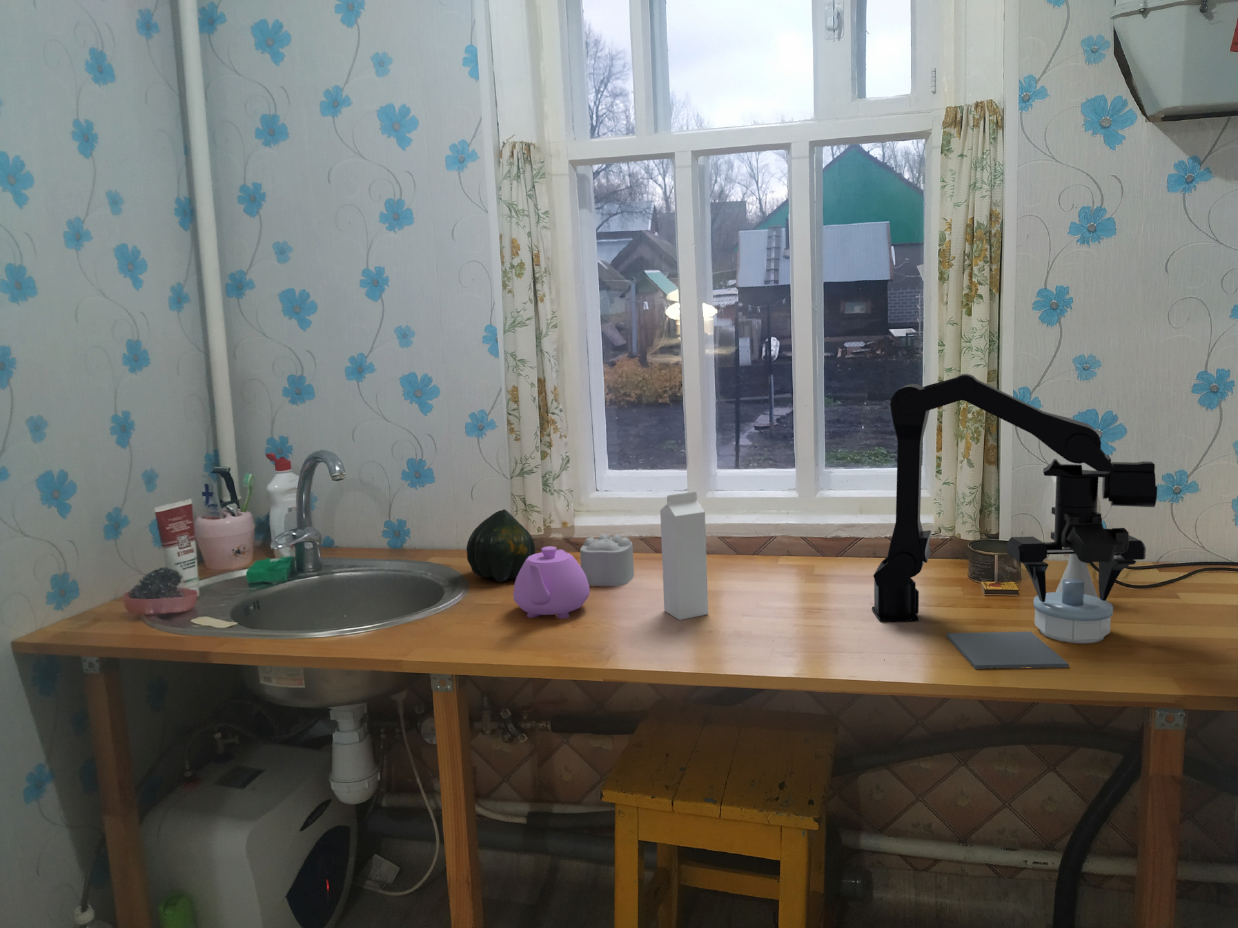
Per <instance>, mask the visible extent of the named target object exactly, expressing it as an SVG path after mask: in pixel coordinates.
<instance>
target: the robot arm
mask: <svg viewBox="0 0 1238 928" xmlns="http://www.w3.org/2000/svg"><path fill="white" fill-rule="evenodd" d="M960 401H962V402H963V401H964V402H966V403H969V404H970V405H972V406H975V407H976V408H979V409H980V410H982V411H984V412H987V413H988V414H991V415H993V416H995V417H997V418H998V419H1001V420H1003V421H1005V422H1007V423H1009V424H1011V425H1012V426H1015V427H1017V428H1019V429H1021V430H1023V431H1026V432H1028V433H1029V434H1031V435H1033V436H1034V437H1036V438H1037V439H1038V440H1039V441H1041V442H1042V444H1044V445H1045V446H1047V447H1048V448H1049V449H1051V450H1052V451H1053V452H1055V453H1056V454H1057V455H1059V456H1061V457H1062V458H1063V459H1065V460H1066V461H1068V462H1070V463H1073V464H1068V463H1063V464H1062V463H1061V462H1059V460H1058V459H1057V458H1054V459H1052V461H1051V462H1050V463H1049V464H1048V465H1047V466H1045V467H1043V469H1042V472H1043V475H1044V476H1046V477H1056V478H1055V506H1053V507H1052V506H1051V515H1053V516H1054V531H1052V532H1050V539H1051V540H1052V542H1051V541H1050V542H1049V541H1047V542H1043V541H1042V540H1040V539H1039V538H1037V537H1035V536H1011V537H1010V538H1009V540H1008V541H1007V543H1006V554H1007V555H1008V556H1010V557H1012V558H1013V559H1015V560H1016V561H1018V563H1021V564H1022V565H1023V566H1024V568H1025V569H1026V571H1027V572H1028V575H1029V577H1030V579H1031V583H1032V584H1033V587H1034V590H1035V592H1036V594H1037V595H1038V597H1039V600H1040V601H1041V602H1045V598H1046V593H1047V585H1046V583H1047V582H1046V577H1047V576H1046V571H1047V569H1048V567H1049V563H1047V562H1045V561H1044V560H1045V559H1047V558H1048V556H1049V555H1070V554H1076V555H1077V558H1078V559H1079V560H1080V561H1081V562H1084V563H1087V564H1093V563H1098V593H1099V594H1098V595H1099V598H1100V599H1101V600H1102V601H1107V599H1108V596H1109V595H1110V594H1111V590H1112V589H1113V587H1114V585H1115V582H1116V581H1117V579H1118V577H1119V575H1120V574H1121V573H1122V571H1123V570H1124V569H1125V568H1127V567H1128V566H1133V565H1135V564H1136V563H1137V561H1138V560H1140V561H1142V560H1143V561H1144V560H1145V559H1146V555H1147V554H1146V553H1147V547H1146V545H1145V543H1144V542H1143V541H1142V540H1141V539H1138V538H1136V537H1134V536H1131V535H1129V534H1130V533H1129V531H1128V530H1127V529H1126V527H1125V528H1124V527H1114V528H1113V527H1111V528H1104V525H1103V517H1102V513H1100V512H1098V498H1099V478H1102V482H1101V484H1102V485H1101V487H1102V488H1101V491H1102V492H1101V494H1102V499H1103V500H1108V502H1109V503H1110V506H1115V507H1137V508H1139V507H1140V508H1155V507H1156V504H1157V497H1158V496H1157V495H1158V486H1157V485H1156V484H1157V483H1156V480H1157V479H1156V472H1155V471H1156V465H1155V463H1154V462H1153V461H1148V460H1147V461H1145V460H1143V461H1138V462H1137V461H1135V462H1128V461H1127V462H1124V461H1123V462H1121V461H1119V462H1117V461H1112V459H1111V457H1110V455H1109V454H1106V453H1105V452H1104V451H1103V449H1102V440H1101V438H1100V435H1099V433H1098V432H1097V431H1096V429H1095V428H1094V427H1093V426H1091V425H1090V424H1088V423H1086V422H1083V421H1079V420H1077V419H1073V418H1070V417H1068V416H1067V417H1066V416H1062V415H1058V414H1053V413H1049V412H1047V411H1043V410H1042V409H1039V408H1037V407H1035V406H1033V405H1032V404H1029V403H1027V402H1025V401H1023V400H1020V399H1019V398H1016V397H1014V396H1012V395H1011V394H1008V393H1006V392H1004V391H1002V390H1000V389H998V388H995V387H994V386H991V385H990V384H987V383H986V382H983V381H981V380H979V379H977V377H975V376H974V375H972V374H968V373H962V374H960V375H957V377H953V378H949V379H946V380H941V381H938V382H935V383H931V384H929V385H925V386H922V385H920V384H916V383H910V384H907V385H905V386H903V387H900V388H899V389H898V390H896V392H894V393H893V394H892V396H891V399H890V401H889V404H890V405H889V408H890V412H891V419H892V425H893V429H894V433H895V436H896V437H895V438H896V440H897V455H896V456H897V457H896V494H895V495H896V497H895V498H896V499H895V500H896V503H895V523H894V527H893V530H892V531H893V532H892V536H891V539H890V543H889V548H888V551H887V552H888V553H887V556H886V557H885V558H884V559H882V560H881V561H880V563H879V565H878V567H877V568H876V570H875V572H874V573H873V575H872V576H873V579H874V580H873V581H874V583H873V585H874V586H873V587H874V588H873V591H874V592H873V593H874V594H873V597H874V598H873V602H874V604H873V606H871V610H872V612H873V613H874V615H875V616H876V619H878V621H880V622H901V621H902V622H907V621H909V622H911V621H919V616H918V615H917V614H919V610H920V609H919V608H920V607H919V606H920V605H919V604H920V595H919V594H920V591H919V590H918V589H917V588H916V584H917V583H916V581H915V580H914V579H913V577H916V576H917V575H918V574H920V573H921V571H922V569H923V567H924V564H925V563H928V561H929V558H930V555H931V554H932V550H931V548H930V540H931V535H932V534H931V533H932V530H929V529H928V530H923V526H922V522H921V500H922V497H921V496H922V467H923V466H922V464H923V461H922V460H923V439H924V435H925V431H926V428H927V427H926V426H927V423H928V420H929V415H930V411H932V410H935V409H938V408H941V407H945V406H947V405H950V404H954V403H957V402H960ZM1082 464H1085V465H1088V466H1089V467H1091V468H1092V469H1093V470H1089V469H1083V465H1082ZM1037 595H1036V596H1037Z"/></svg>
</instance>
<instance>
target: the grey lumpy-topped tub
mask: <svg viewBox="0 0 1238 928" xmlns="http://www.w3.org/2000/svg"><path fill="white" fill-rule="evenodd" d="M633 545H634V544H633V542H632V541H631V540H630V539H629V538H628V537H622V535H621V534H619V533H615V534H613V536H610V535H609V534H607V533H602V534H601V535H599V537H598V538H594V537H589V536H588V537H587V538H585V540H584V542H583V545H582V546H581V547H580V549H579V554H580V555H579V556H580V567H581V568H582V570H583V571H584V573H585V575H586V577H587V580H588V584H589V587H595V586H596V587H597V586H600V587H601V586H602V587H603V586H604V587H620V586H625V585H627V584H629V583H630V582H631V581H632V580H633V578H634V576H635V573H634V572H635V570H634V548H633Z"/></svg>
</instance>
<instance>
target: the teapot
mask: <svg viewBox="0 0 1238 928" xmlns="http://www.w3.org/2000/svg"><path fill="white" fill-rule="evenodd" d="M540 549H541V552H538V553H535V554H533V555H531V556H529V557H528V558H527V559H526V561H525V562H524V564H523V566H522V568H521V570H520V571H519V573H518V576H517V578H515V582H514V586H513V594H512V595H513V597H512V598H513V601H514V602H515V604H517V606H518V607H519V608H520V609H522V611H523V612H525V613H527V614H526V618H530V619H532V618H537V617H539V616H540V615H541V616H548V615H549V616H550V615H551V616H553V615H555V616H556V618H557V619H561V620H562V619H568V618H570V616H571V615H570V614H569V613H570V612H573V611H576V610H578V609H580V608H581V607H582V606H583V605H584V604H585V602H586V601H587V599H588V598H589V597H590V594H591V593H590V592H591V591H590V586H589V584H588V580H587V577H586V575H585V573H584V571H583V570H582V568H581V564H580V563H579V562H578V561H577V560H576V559H575V557H574V556H573V555H572V554H571V553H569V552H566V551H565V550H564V549H558V548H557V547H556V546H550V545H549V546H544V547H541V548H540Z"/></svg>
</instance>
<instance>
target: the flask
mask: <svg viewBox="0 0 1238 928" xmlns="http://www.w3.org/2000/svg"><path fill="white" fill-rule="evenodd" d="M1064 579H1078V580H1082V581H1084V594H1086V595H1091V596H1095V597H1098V594H1097V591H1096V588H1095V586H1094V582H1093V579H1092V577H1091V574H1090V570H1089V567H1088V563H1084V562H1081V561H1080V560H1079V559H1078V558H1077V555H1076V554H1069V556H1068V561H1067V565H1066V567H1065V569H1064V572H1063V575H1062V577H1061V579H1060V582H1059V583H1058V585H1057V588H1056V590H1055V592H1062V582H1063V580H1064ZM1098 598H1099V597H1098Z"/></svg>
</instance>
